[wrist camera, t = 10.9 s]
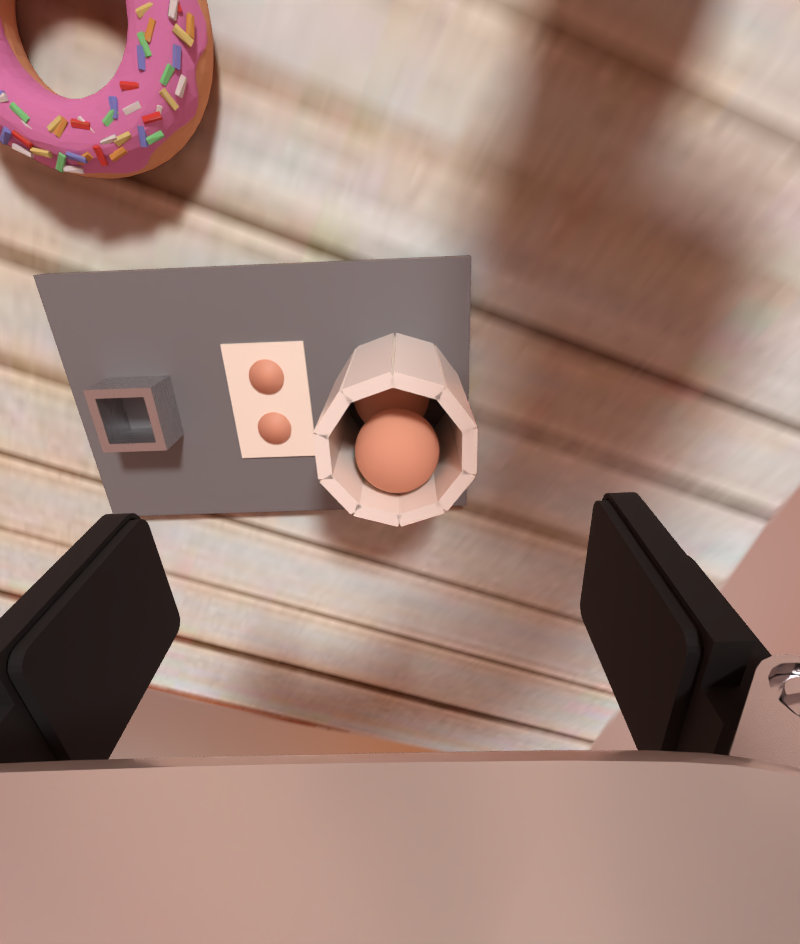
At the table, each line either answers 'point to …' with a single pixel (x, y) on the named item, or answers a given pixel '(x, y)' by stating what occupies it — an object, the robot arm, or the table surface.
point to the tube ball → (391, 403)
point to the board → (243, 366)
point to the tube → (337, 430)
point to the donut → (114, 95)
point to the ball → (397, 450)
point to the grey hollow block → (115, 422)
